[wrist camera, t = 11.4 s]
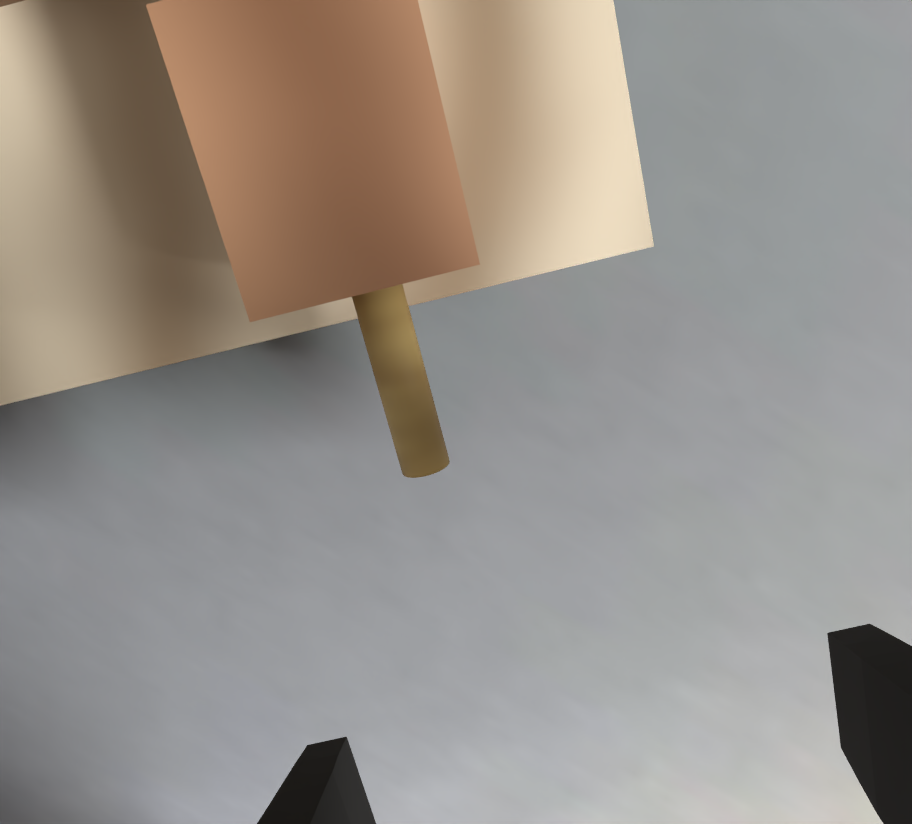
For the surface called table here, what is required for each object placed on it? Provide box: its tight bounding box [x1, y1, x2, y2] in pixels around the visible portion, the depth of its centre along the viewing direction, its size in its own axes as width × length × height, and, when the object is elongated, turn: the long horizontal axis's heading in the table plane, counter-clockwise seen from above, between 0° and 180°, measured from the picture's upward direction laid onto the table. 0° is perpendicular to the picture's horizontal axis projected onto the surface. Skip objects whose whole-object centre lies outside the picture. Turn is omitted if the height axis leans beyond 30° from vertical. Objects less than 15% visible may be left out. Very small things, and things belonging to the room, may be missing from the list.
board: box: [0, 0, 654, 406], centre depth 17 cm, size 22×9×3 cm, turn 104°
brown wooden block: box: [146, 0, 480, 478], centre depth 16 cm, size 4×9×5 cm, turn 14°
